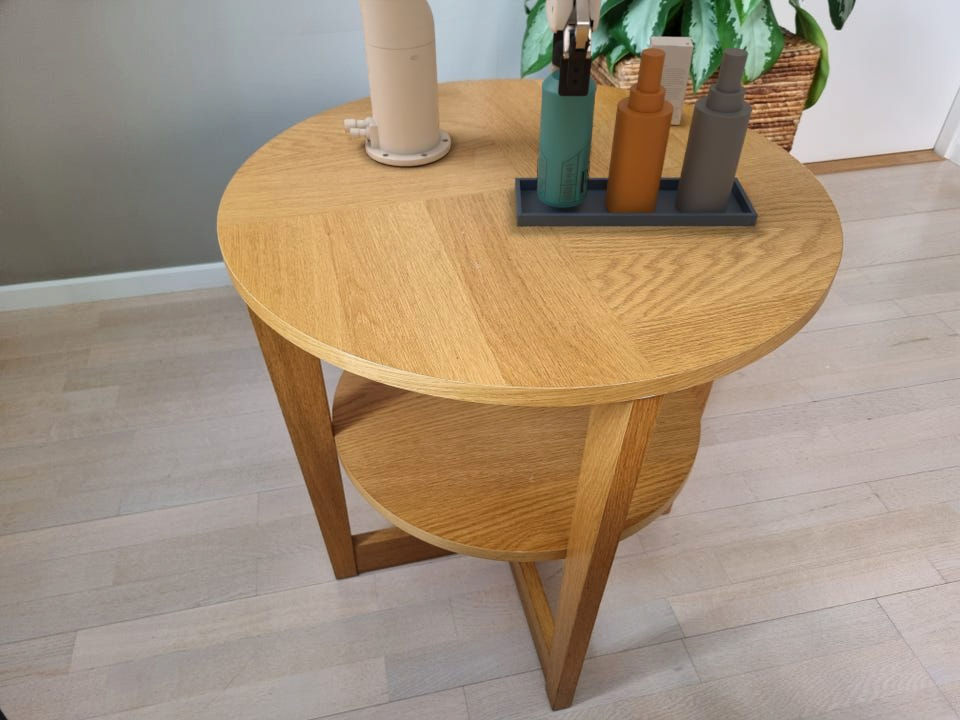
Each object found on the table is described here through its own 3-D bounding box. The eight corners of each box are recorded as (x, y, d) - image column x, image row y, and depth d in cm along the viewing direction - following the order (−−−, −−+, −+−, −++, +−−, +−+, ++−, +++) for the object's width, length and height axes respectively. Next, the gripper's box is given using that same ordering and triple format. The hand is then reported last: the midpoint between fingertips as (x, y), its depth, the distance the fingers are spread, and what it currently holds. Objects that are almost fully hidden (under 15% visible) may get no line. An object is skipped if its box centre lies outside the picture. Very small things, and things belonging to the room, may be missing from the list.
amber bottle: (608, 219, 87) (628, 62, 74) (601, 193, 92) (620, 42, 79) (659, 219, 87) (689, 62, 74) (650, 193, 92) (677, 42, 79)
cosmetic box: (677, 114, 112) (691, 36, 104) (679, 126, 109) (695, 46, 101) (638, 113, 113) (650, 35, 105) (640, 124, 110) (652, 44, 102)
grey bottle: (680, 219, 87) (713, 62, 74) (670, 193, 92) (700, 42, 79) (732, 218, 87) (774, 61, 74) (719, 193, 92) (756, 41, 79)
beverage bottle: (583, 221, 87) (601, 54, 73) (530, 216, 88) (538, 50, 74) (588, 196, 91) (605, 34, 78) (538, 191, 92) (546, 31, 79)
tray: (516, 231, 86) (517, 215, 85) (514, 193, 94) (515, 177, 92) (753, 231, 86) (758, 215, 85) (732, 192, 93) (737, 177, 92)
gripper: (539, -117, 74) (532, 52, 85) (550, -84, 61) (539, 109, 72) (610, -117, 74) (593, 51, 85) (636, -84, 61) (612, 109, 72)
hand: (568, 78), depth 79 cm, fingers open, 9 cm apart
